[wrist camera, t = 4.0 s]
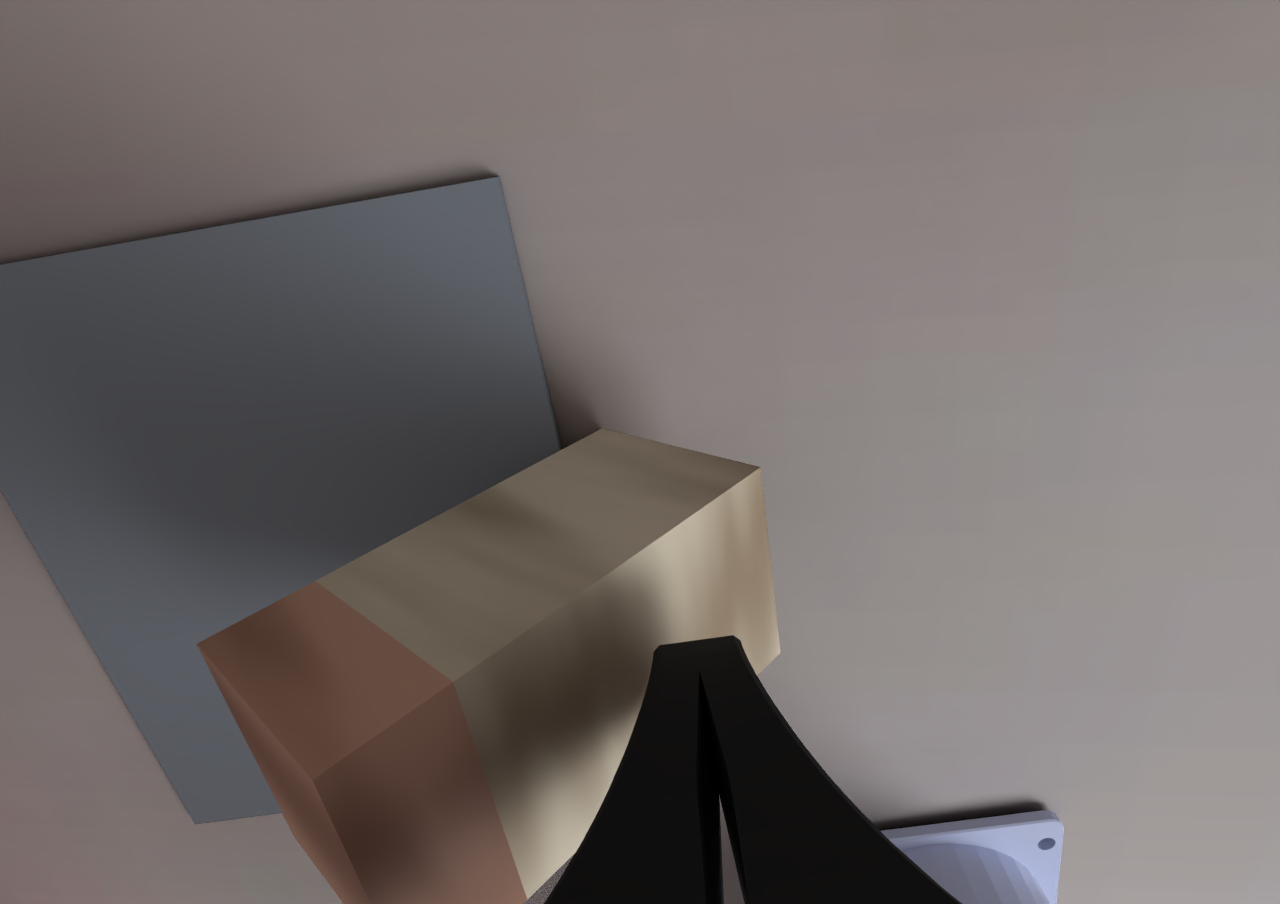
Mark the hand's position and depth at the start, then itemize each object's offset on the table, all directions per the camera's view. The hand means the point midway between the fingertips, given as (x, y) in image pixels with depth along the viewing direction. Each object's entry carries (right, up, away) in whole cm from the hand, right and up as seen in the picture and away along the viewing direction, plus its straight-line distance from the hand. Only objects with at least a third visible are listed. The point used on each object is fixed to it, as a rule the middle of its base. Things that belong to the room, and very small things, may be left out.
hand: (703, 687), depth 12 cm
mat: (-9, +1, +6) cm, 11 cm away
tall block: (0, +2, +4) cm, 5 cm away
